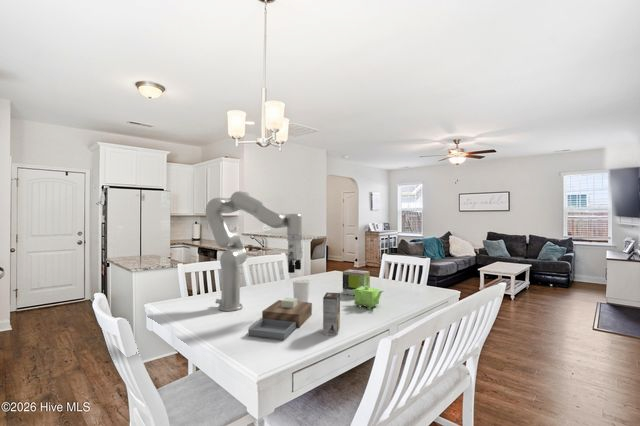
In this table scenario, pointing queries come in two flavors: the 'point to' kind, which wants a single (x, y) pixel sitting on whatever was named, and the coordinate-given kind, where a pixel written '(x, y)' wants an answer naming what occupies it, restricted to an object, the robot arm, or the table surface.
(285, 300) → the tile
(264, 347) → the table surface
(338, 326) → the coffee box
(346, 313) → the table surface
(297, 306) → the brown slab
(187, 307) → the table surface
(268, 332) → the bin
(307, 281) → the candle holder
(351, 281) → the tea box
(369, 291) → the kettle
